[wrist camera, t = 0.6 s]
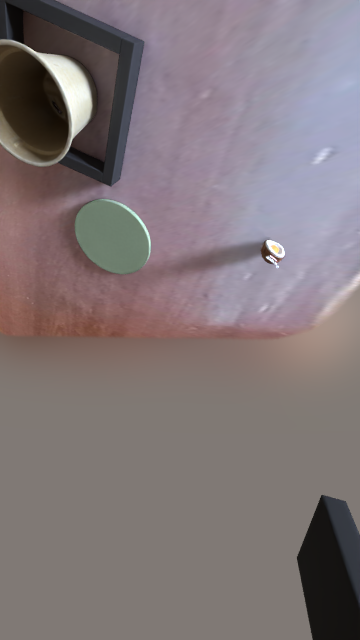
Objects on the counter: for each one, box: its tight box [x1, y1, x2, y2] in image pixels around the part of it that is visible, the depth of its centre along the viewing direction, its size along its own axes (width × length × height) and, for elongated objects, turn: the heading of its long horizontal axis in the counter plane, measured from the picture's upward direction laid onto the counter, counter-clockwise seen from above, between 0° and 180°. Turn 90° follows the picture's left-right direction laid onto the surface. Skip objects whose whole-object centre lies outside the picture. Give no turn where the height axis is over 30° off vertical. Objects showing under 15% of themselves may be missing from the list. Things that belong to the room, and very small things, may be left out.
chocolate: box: [261, 240, 285, 268], centre depth 39 cm, size 3×2×4 cm
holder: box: [0, 0, 144, 186], centre depth 34 cm, size 13×13×2 cm
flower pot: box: [0, 39, 97, 167], centre depth 32 cm, size 9×9×9 cm
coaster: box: [75, 199, 151, 274], centre depth 46 cm, size 11×11×1 cm
